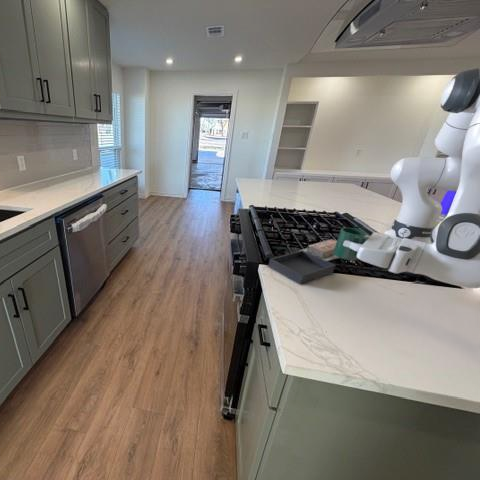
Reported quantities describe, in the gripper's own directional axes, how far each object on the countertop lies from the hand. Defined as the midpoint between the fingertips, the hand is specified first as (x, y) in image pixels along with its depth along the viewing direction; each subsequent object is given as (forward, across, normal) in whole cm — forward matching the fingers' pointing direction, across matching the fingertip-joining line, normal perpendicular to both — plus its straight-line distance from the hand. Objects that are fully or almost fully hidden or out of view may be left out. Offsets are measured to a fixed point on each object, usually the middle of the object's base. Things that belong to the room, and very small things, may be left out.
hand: (347, 239), depth 81 cm
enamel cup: (-1, 0, +6) cm, 6 cm away
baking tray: (+10, +2, +15) cm, 18 cm away
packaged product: (+9, -18, +15) cm, 25 cm away
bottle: (-22, -98, +15) cm, 102 cm away
